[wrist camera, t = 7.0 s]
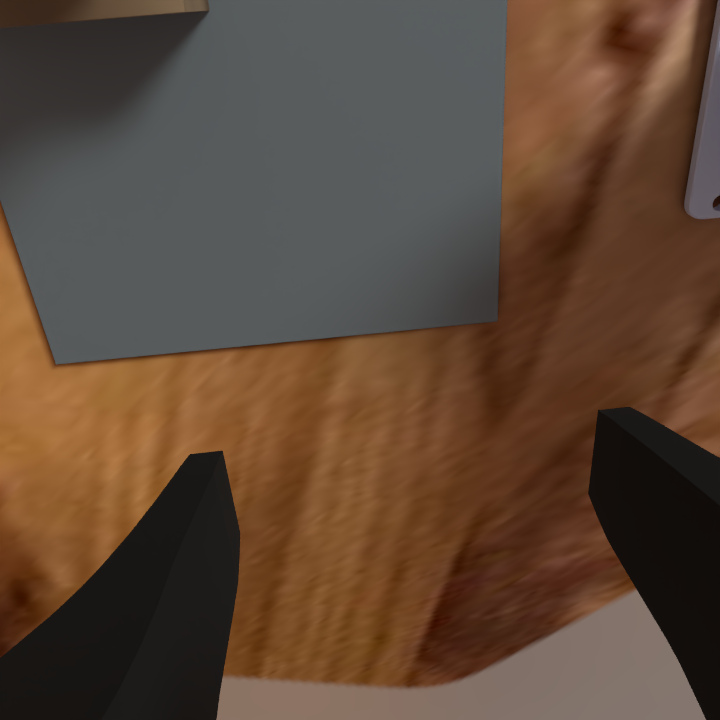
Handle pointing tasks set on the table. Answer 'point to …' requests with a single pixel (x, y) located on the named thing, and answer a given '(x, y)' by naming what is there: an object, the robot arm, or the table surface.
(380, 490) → the table surface
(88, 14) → the walnut block
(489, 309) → the mat
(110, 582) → the robot arm
